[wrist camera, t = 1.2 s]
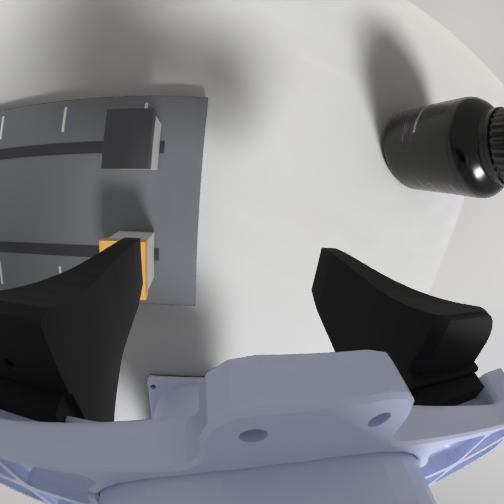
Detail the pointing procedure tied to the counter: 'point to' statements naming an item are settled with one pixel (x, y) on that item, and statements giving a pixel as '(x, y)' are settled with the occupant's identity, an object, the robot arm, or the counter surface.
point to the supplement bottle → (448, 147)
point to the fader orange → (146, 254)
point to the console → (98, 191)
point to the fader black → (131, 139)
